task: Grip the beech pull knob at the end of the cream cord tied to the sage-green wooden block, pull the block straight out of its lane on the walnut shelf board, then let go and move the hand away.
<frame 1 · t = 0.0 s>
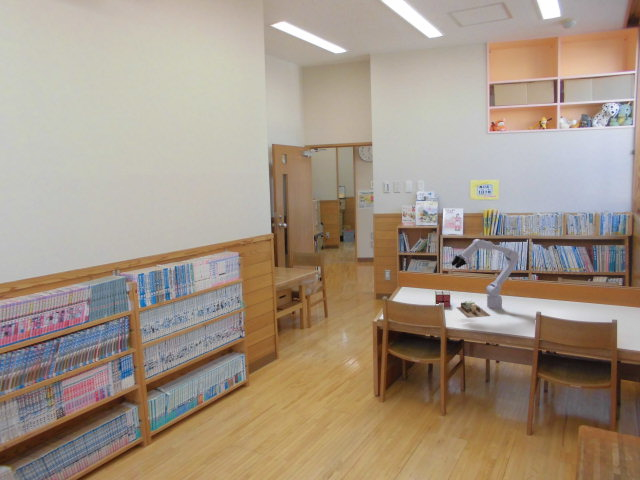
hand: (454, 266, 322), 32 cm above the table, tool tilted 50°, fingers open, 7 cm apart
sage block: (469, 308, 327), point 1 cm above the table, touching shelf lane
shelf lane: (472, 312, 322), on the table
puzzle cube: (442, 306, 340), on the table
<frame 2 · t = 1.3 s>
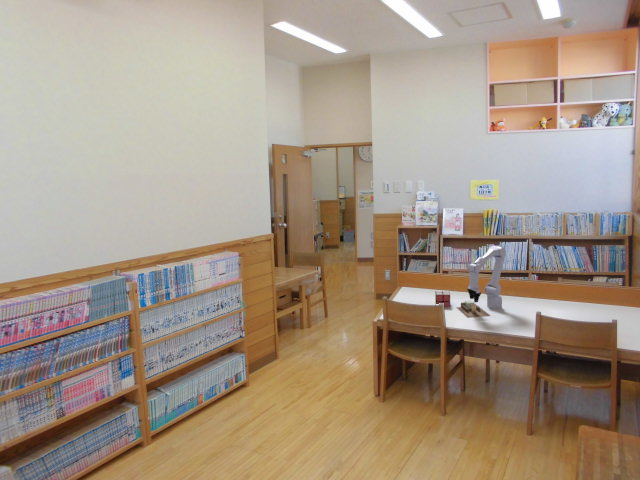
hand: (473, 300, 318), 9 cm above the table, tool pointing down, fingers open, 7 cm apart
nothing on the table moved.
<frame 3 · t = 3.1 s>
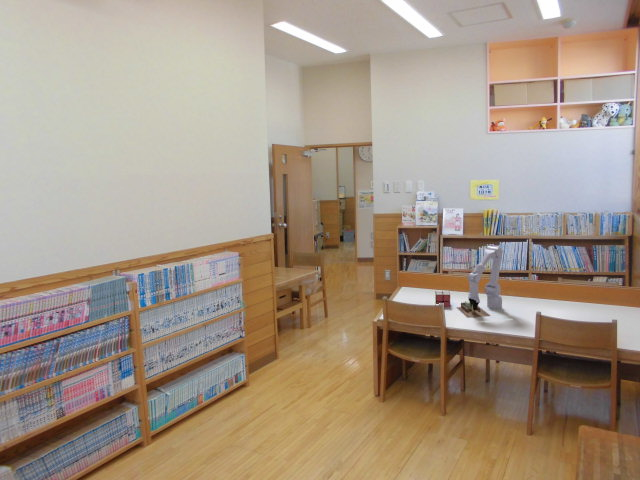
hand: (474, 309, 319), 3 cm above the table, tool pointing down, fingers closed on sage block, 3 cm apart
sage block: (469, 308, 327), point 1 cm above the table, touching gripper, shelf lane
everything else where it was.
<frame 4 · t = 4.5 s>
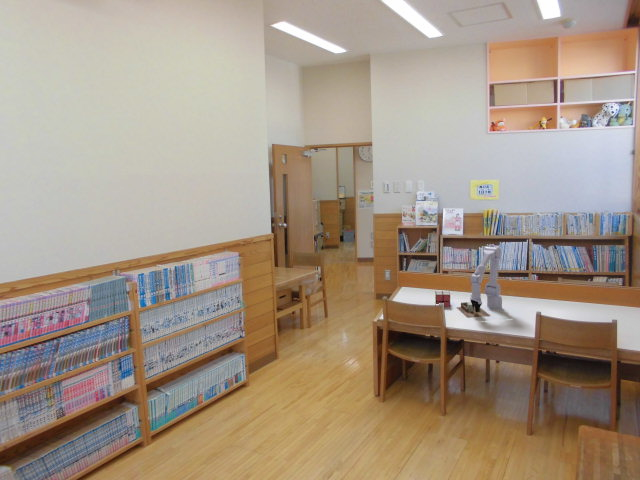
hand: (476, 311, 316), 3 cm above the table, tool pointing down, fingers closed on sage block, 3 cm apart
sage block: (471, 310, 324), point 1 cm above the table, touching gripper
everything else where it was.
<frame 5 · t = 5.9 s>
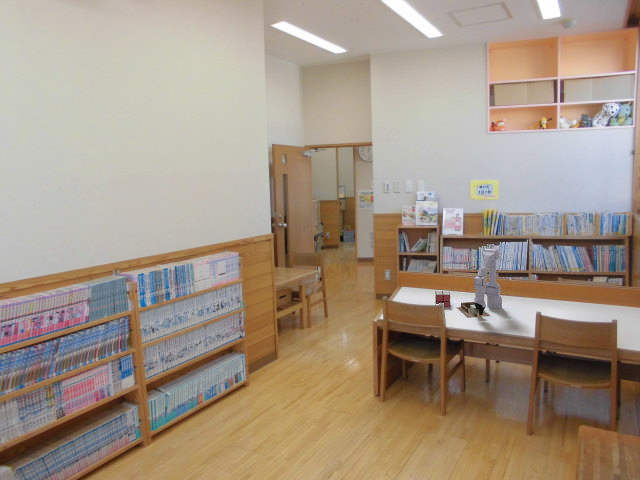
hand: (479, 314, 309), 3 cm above the table, tool pointing down, fingers closed on sage block, 3 cm apart
sage block: (475, 313, 318), point 1 cm above the table, touching gripper, shelf lane
everything else where it was.
when the fingers open (3 cm above the table, at t = 6.9 s): sage block stays where it is, resting on shelf lane.
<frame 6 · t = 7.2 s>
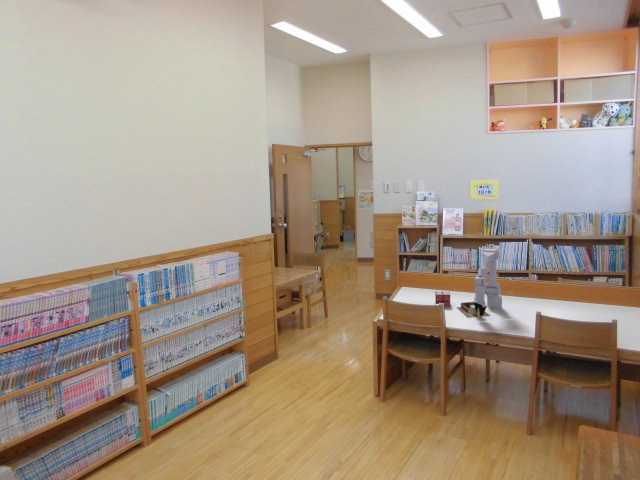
hand: (479, 314, 309), 3 cm above the table, tool pointing down, fingers open, 6 cm apart
sage block: (475, 313, 318), point 1 cm above the table, touching shelf lane
everything else where it was.
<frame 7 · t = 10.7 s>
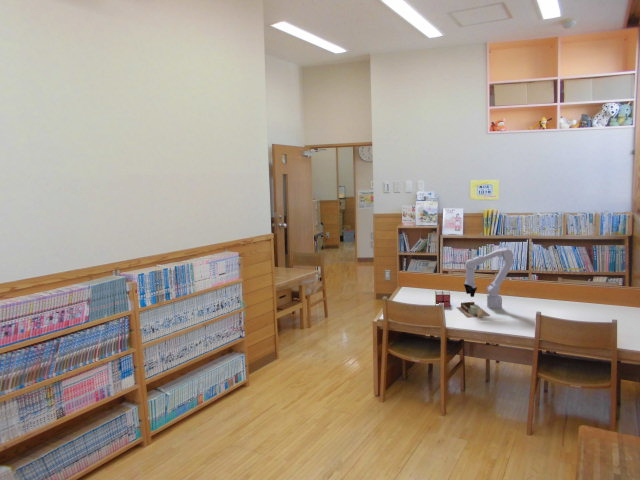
hand: (470, 295, 330), 9 cm above the table, tool pointing down, fingers open, 7 cm apart
nothing on the table moved.
at the end: sage block 1.2 cm from the target spot, point 0.8 cm above the table; sage block tilted 0°; the gripper is holding nothing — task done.
